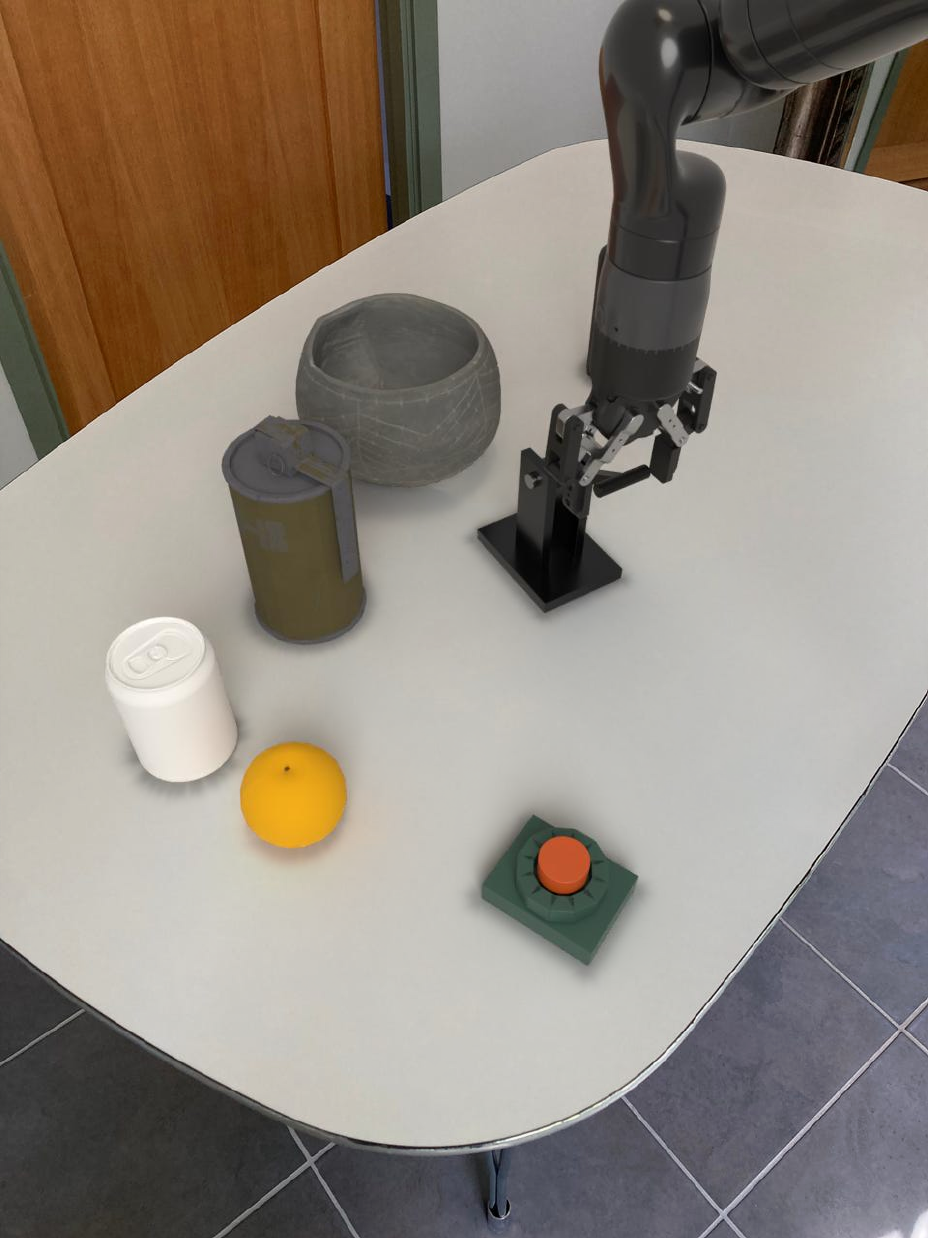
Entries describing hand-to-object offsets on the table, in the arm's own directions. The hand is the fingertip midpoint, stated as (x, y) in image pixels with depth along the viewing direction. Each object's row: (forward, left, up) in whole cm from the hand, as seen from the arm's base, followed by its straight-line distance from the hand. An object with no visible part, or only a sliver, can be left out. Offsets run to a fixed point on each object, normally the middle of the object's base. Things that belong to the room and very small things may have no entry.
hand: (619, 494), depth 79 cm
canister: (+23, +14, -15) cm, 31 cm away
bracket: (+8, -4, -15) cm, 17 cm away
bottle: (+18, -36, -15) cm, 42 cm away
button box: (-11, +26, -15) cm, 32 cm away
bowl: (+29, -8, -15) cm, 33 cm away
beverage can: (+21, +32, -15) cm, 41 cm away
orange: (+9, +32, -15) cm, 37 cm away
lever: (+4, -2, -2) cm, 5 cm away
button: (-11, +26, -11) cm, 31 cm away
